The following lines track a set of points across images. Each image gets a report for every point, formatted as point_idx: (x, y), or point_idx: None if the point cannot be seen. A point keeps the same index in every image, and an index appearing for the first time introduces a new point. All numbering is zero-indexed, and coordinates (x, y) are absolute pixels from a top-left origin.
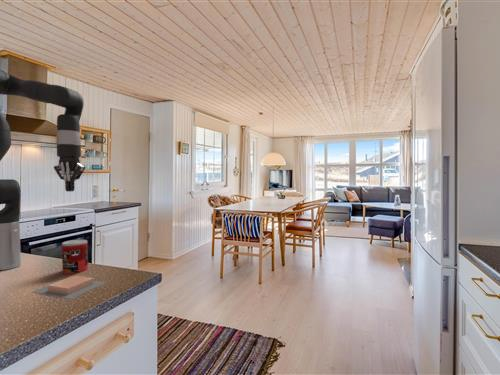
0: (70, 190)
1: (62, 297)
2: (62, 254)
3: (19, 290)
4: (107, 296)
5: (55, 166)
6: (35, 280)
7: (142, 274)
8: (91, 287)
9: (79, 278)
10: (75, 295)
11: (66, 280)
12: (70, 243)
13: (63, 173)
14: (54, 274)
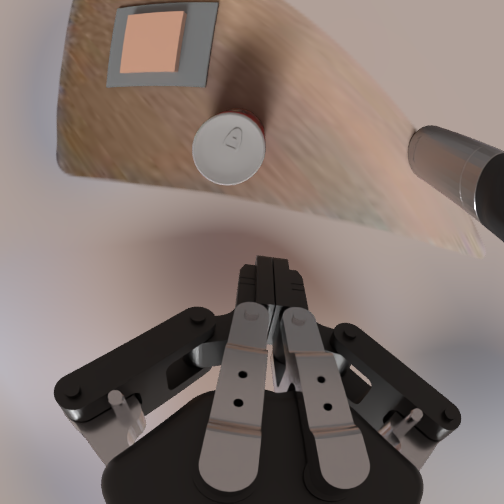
0: (254, 267)
1: (135, 6)
2: (250, 115)
3: (264, 13)
4: (74, 48)
5: (446, 424)
6: (285, 67)
7: (82, 159)
8: (115, 57)
9: (146, 60)
10: (118, 20)
11: (166, 42)
12: (232, 134)
13: (312, 356)
14: (274, 109)
